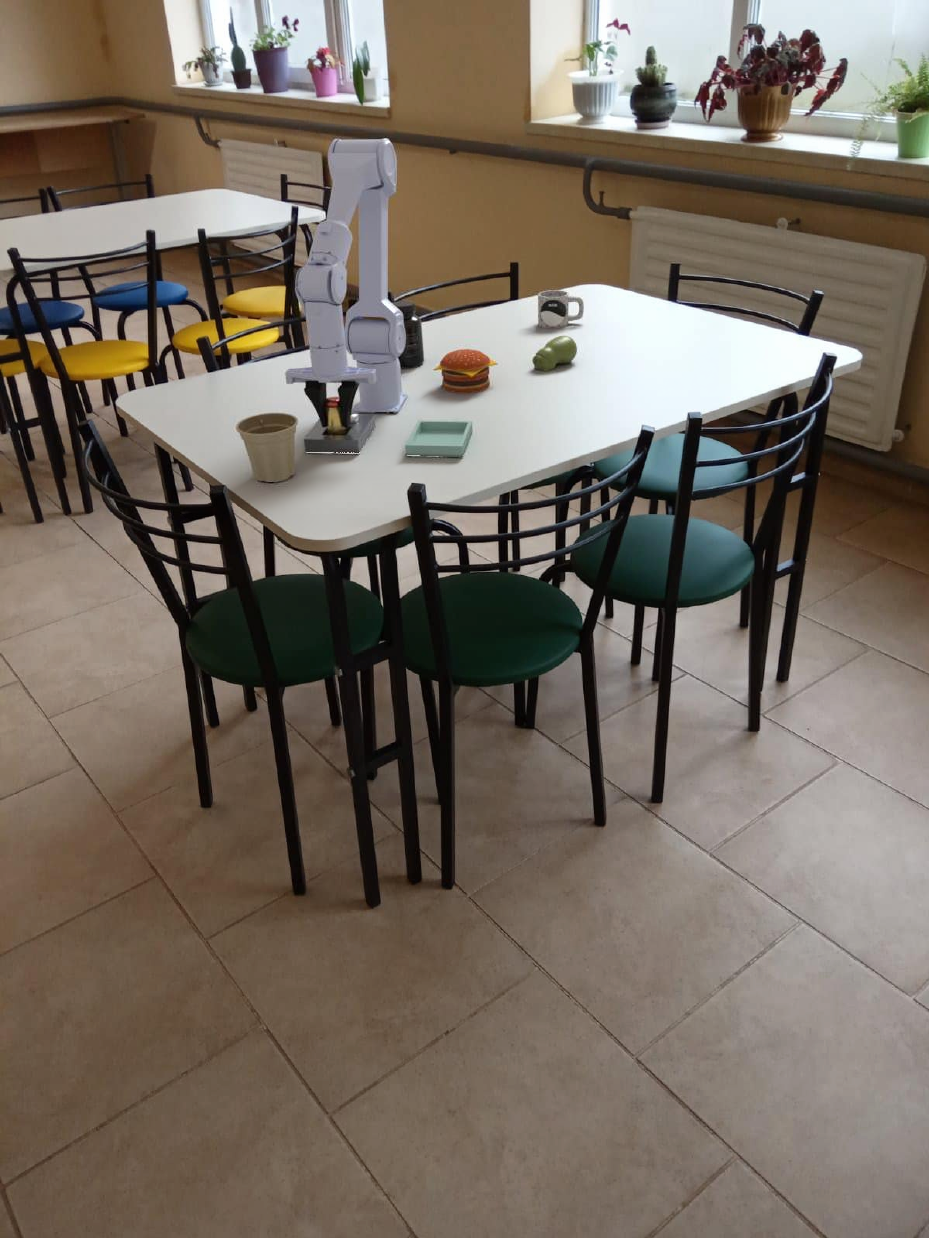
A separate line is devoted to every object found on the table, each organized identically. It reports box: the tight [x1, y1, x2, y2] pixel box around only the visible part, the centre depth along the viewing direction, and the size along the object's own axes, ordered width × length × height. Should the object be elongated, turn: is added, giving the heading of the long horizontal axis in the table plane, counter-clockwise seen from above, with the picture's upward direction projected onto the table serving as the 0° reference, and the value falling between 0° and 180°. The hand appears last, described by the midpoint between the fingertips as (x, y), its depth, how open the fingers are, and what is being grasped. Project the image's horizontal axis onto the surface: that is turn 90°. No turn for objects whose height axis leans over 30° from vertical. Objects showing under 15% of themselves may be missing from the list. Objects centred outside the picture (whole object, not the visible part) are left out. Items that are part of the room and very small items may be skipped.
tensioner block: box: [303, 409, 376, 453], centre depth 172 cm, size 12×9×4 cm
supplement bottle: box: [391, 300, 425, 369], centre depth 205 cm, size 7×7×12 cm
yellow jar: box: [324, 396, 347, 436], centre depth 169 cm, size 3×3×8 cm
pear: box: [531, 335, 578, 372], centre depth 202 cm, size 6×5×10 cm
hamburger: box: [433, 348, 498, 394], centre depth 193 cm, size 9×10×7 cm
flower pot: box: [235, 412, 299, 483], centre depth 159 cm, size 9×9×9 cm
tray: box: [405, 419, 473, 458], centre depth 169 cm, size 11×9×2 cm
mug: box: [537, 289, 585, 329], centre depth 226 cm, size 10×7×7 cm, turn 88°
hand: (336, 425), depth 169 cm, fingers closed on yellow jar, 3 cm apart
